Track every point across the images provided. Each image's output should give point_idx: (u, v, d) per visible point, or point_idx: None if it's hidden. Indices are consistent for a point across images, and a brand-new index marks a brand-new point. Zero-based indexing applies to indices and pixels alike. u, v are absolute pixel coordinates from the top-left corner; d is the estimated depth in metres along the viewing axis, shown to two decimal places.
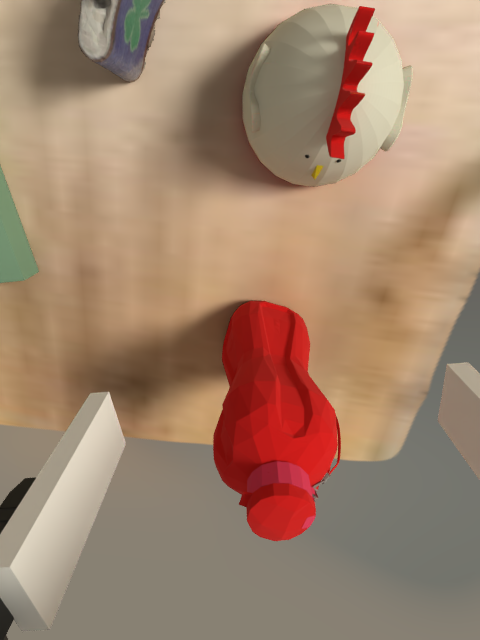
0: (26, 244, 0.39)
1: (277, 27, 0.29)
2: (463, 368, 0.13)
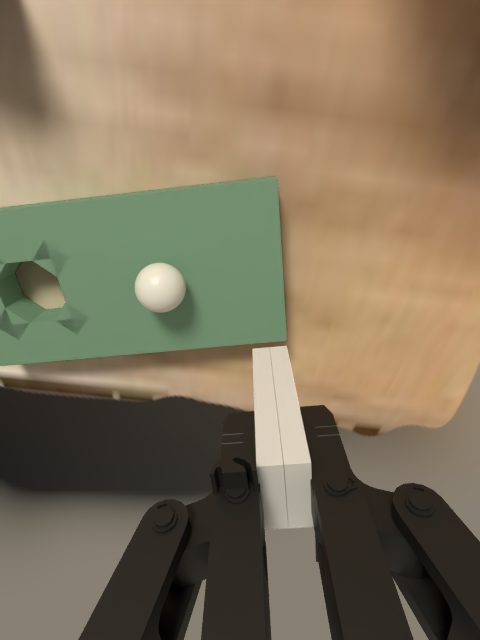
0: (234, 181, 0.29)
1: None
2: (279, 350, 0.15)
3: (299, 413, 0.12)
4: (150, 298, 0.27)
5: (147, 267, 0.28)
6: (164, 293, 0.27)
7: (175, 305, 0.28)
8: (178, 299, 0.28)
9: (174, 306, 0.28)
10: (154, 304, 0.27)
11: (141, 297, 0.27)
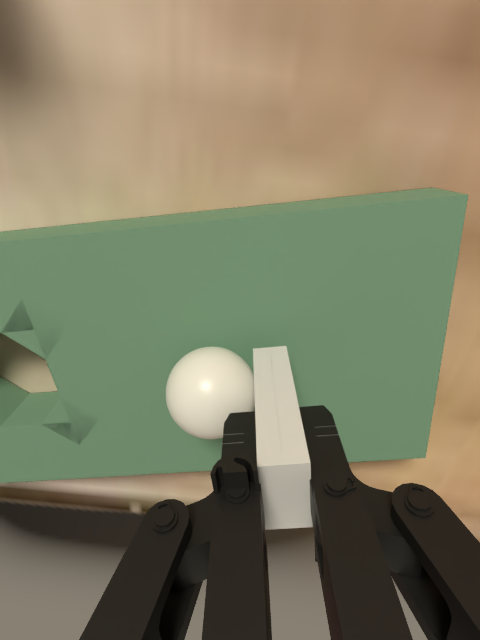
0: (363, 196, 0.16)
1: None
2: (279, 350, 0.15)
3: (298, 413, 0.12)
4: (180, 420, 0.14)
5: (189, 358, 0.15)
6: (203, 419, 0.14)
7: None
8: None
9: None
10: (186, 430, 0.15)
11: (169, 410, 0.15)
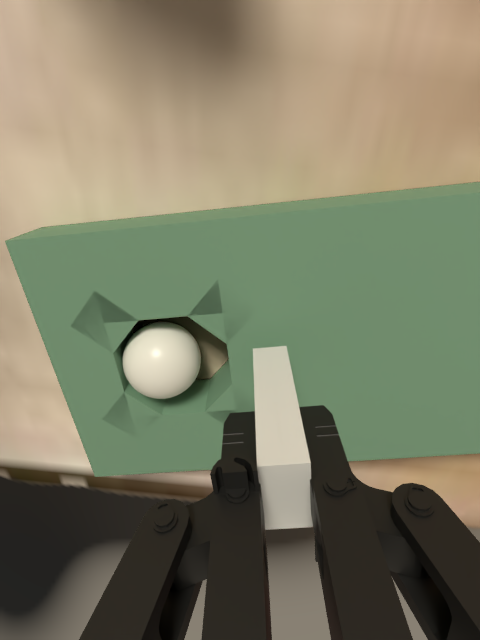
0: None
1: None
2: (279, 350, 0.15)
3: (298, 413, 0.12)
4: (129, 379, 0.18)
5: (142, 329, 0.18)
6: (144, 379, 0.17)
7: (169, 396, 0.18)
8: (172, 390, 0.17)
9: (168, 396, 0.18)
10: (135, 388, 0.18)
11: (124, 371, 0.18)
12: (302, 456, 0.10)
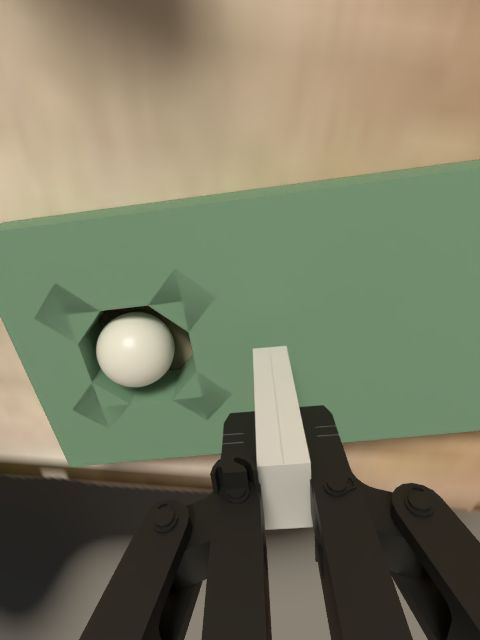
0: None
1: None
2: (279, 350, 0.15)
3: (298, 413, 0.12)
4: (107, 370, 0.18)
5: (114, 320, 0.18)
6: (124, 367, 0.17)
7: (149, 382, 0.18)
8: (152, 375, 0.18)
9: (147, 383, 0.18)
10: (113, 378, 0.18)
11: (99, 364, 0.18)
12: (302, 456, 0.10)
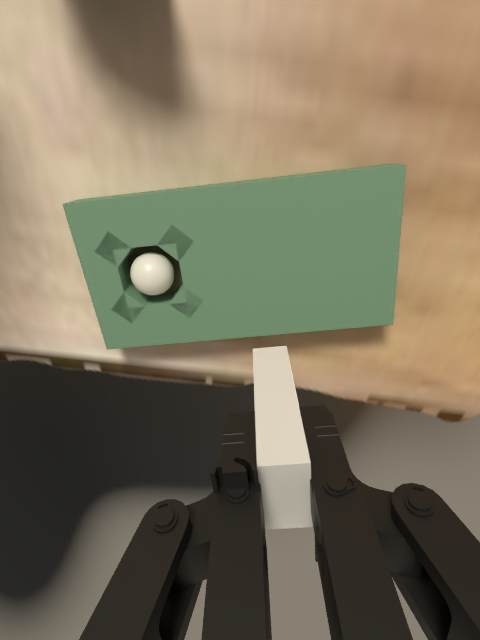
0: (354, 168, 0.30)
1: None
2: (279, 350, 0.15)
3: (299, 413, 0.12)
4: (139, 282, 0.32)
5: (140, 255, 0.32)
6: (149, 278, 0.31)
7: (162, 290, 0.33)
8: (164, 285, 0.32)
9: (161, 290, 0.33)
10: (142, 287, 0.32)
11: (133, 280, 0.32)
12: (302, 456, 0.10)
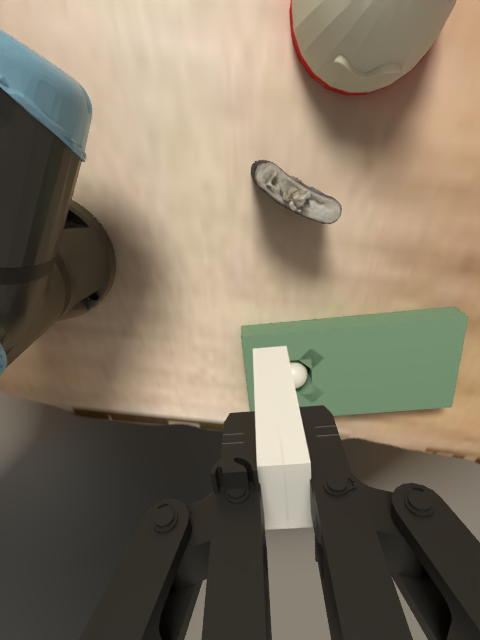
0: (430, 310, 0.46)
1: (310, 53, 0.32)
2: (279, 350, 0.15)
3: (298, 413, 0.12)
4: None
5: None
6: (299, 380, 0.47)
7: None
8: (304, 382, 0.48)
9: (301, 385, 0.48)
10: None
11: None
12: (302, 456, 0.10)
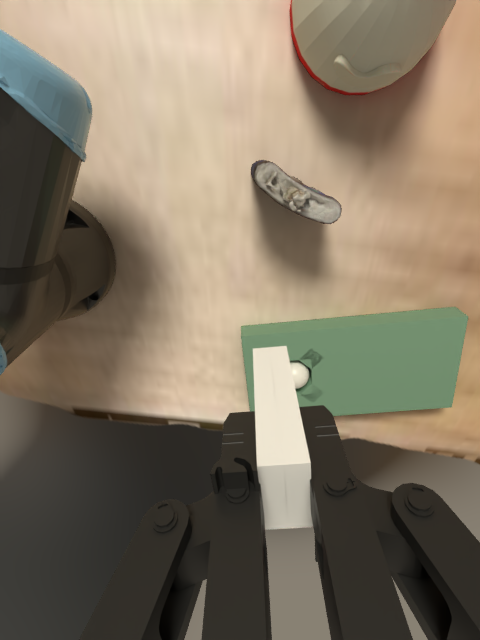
0: (430, 310, 0.46)
1: (310, 53, 0.32)
2: (279, 350, 0.15)
3: (299, 413, 0.12)
4: (295, 383, 0.47)
5: (290, 364, 0.48)
6: (302, 379, 0.47)
7: (304, 384, 0.49)
8: None
9: None
10: (296, 385, 0.47)
11: None
12: (302, 456, 0.10)
